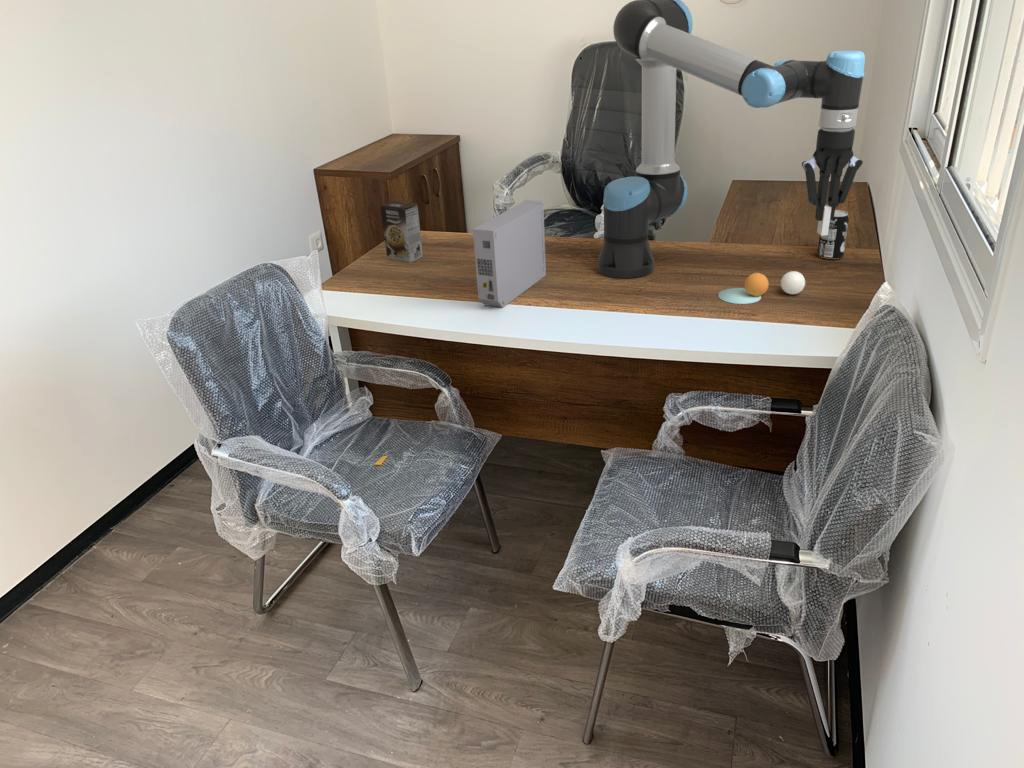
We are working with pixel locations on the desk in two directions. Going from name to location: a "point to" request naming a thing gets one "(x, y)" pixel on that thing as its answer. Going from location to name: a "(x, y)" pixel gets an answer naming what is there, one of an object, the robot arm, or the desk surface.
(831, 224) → the beverage can
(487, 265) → the game console
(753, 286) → the object ball
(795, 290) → the cue ball
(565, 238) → the desk surface
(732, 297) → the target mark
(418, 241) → the coffee box
